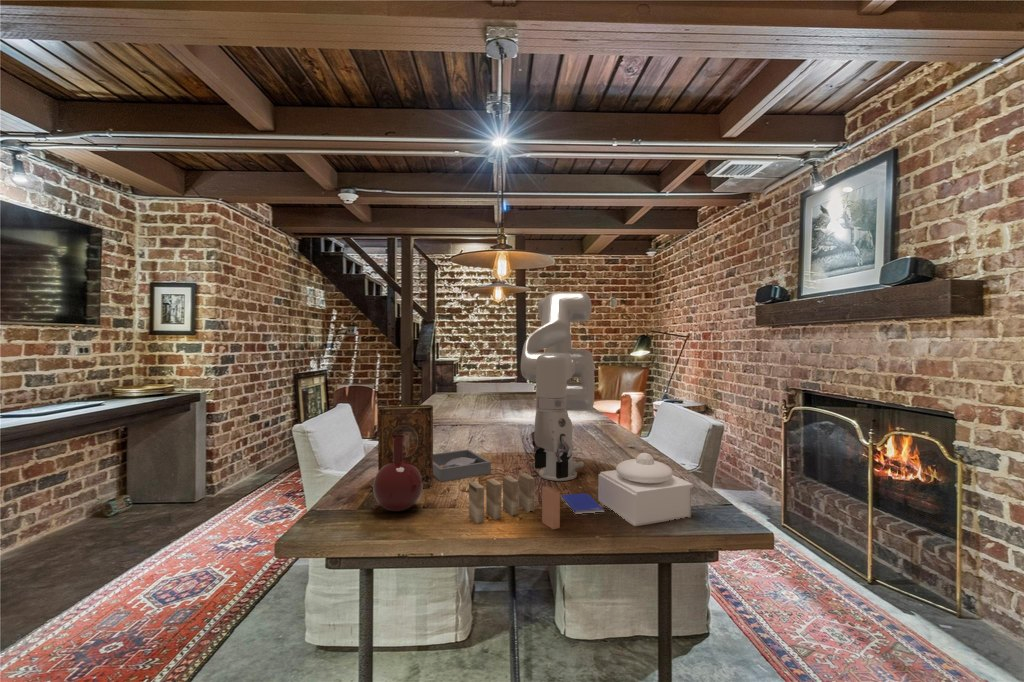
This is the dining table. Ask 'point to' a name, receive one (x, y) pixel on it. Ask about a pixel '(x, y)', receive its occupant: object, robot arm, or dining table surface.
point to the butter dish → (645, 491)
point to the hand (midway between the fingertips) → (550, 472)
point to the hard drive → (582, 503)
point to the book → (408, 437)
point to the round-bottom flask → (398, 481)
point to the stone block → (460, 462)
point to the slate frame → (461, 471)
